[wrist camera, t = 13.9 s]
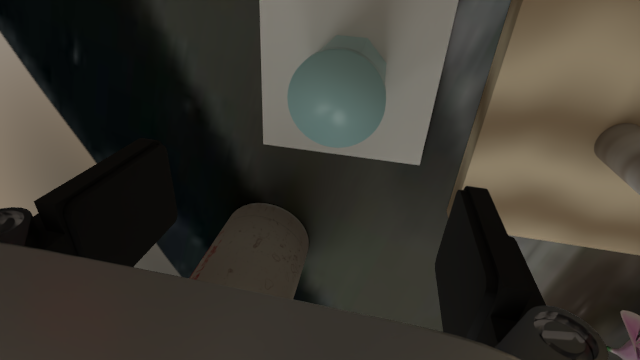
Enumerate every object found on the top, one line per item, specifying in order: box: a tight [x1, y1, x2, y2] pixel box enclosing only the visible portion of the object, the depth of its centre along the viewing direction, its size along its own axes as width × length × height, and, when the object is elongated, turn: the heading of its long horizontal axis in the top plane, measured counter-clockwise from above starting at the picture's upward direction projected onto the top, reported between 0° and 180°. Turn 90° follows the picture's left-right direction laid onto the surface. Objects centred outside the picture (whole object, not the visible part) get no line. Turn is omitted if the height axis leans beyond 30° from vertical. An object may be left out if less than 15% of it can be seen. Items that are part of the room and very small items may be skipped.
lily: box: [606, 310, 640, 360], centre depth 27 cm, size 12×12×10 cm
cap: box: [287, 35, 386, 148], centre depth 21 cm, size 5×5×6 cm
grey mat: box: [260, 0, 459, 165], centre depth 24 cm, size 12×12×1 cm
